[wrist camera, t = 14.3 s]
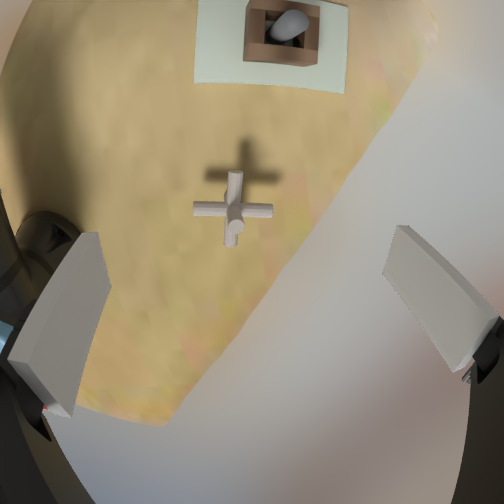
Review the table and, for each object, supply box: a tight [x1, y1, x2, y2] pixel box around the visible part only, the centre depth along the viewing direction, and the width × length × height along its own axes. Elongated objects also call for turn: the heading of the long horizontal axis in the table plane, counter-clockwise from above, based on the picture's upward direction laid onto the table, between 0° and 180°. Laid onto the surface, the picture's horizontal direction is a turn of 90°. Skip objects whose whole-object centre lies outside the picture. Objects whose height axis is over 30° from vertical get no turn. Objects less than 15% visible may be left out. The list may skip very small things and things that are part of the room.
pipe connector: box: [193, 170, 273, 247], centre depth 36 cm, size 10×10×10 cm
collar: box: [243, 0, 320, 67], centre depth 26 cm, size 8×8×5 cm
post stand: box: [194, 0, 348, 94], centre depth 25 cm, size 20×14×10 cm
